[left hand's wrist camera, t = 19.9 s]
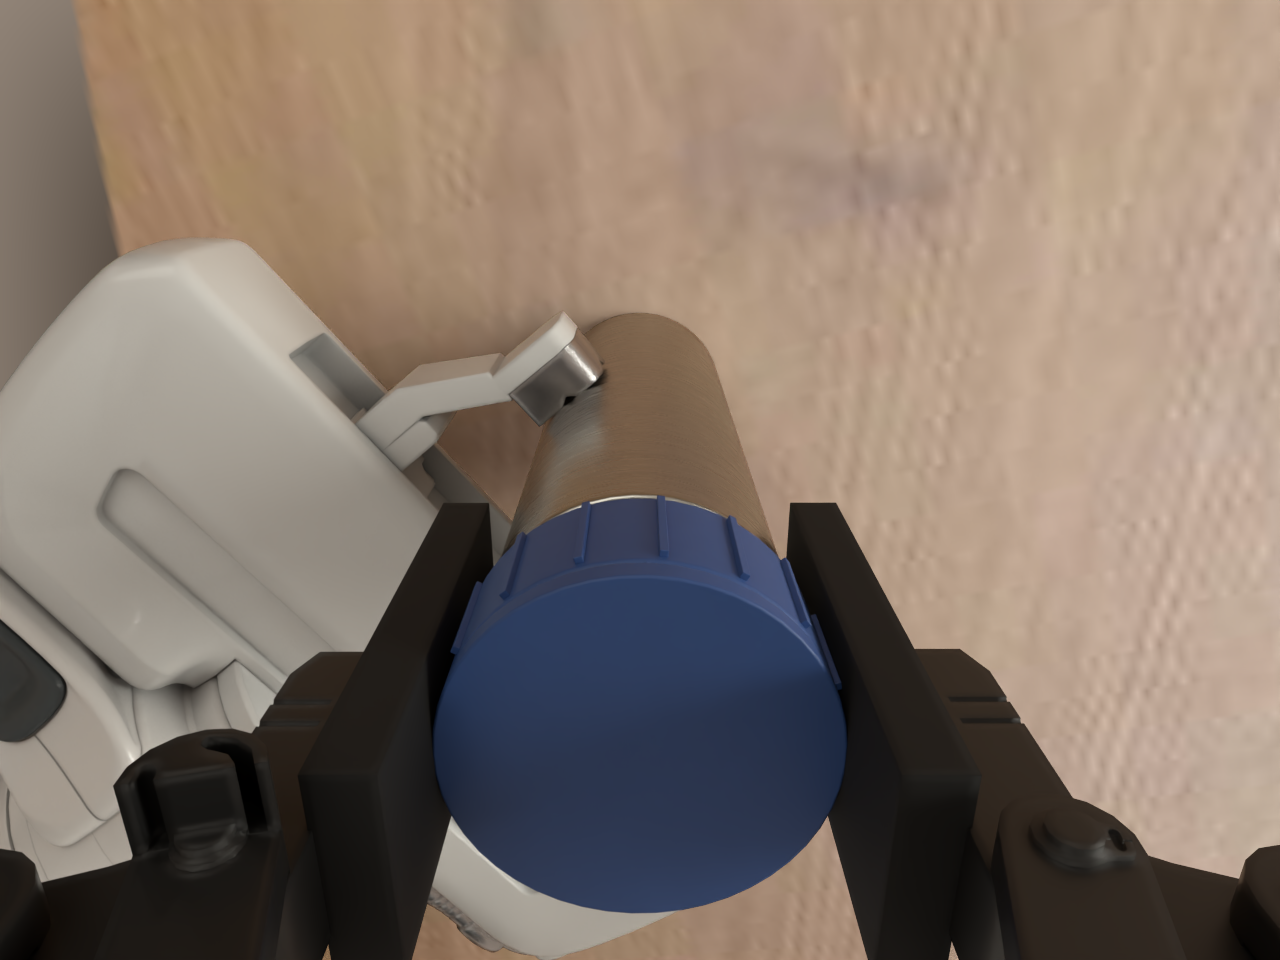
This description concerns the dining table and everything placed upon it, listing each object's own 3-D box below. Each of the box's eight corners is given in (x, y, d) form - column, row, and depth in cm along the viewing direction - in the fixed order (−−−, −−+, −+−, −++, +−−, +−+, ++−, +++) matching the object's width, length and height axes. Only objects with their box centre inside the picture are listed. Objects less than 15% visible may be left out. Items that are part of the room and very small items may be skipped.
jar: (736, 331, 25) (872, 602, 10) (697, 479, 26) (767, 889, 12) (577, 296, 24) (485, 525, 10) (547, 448, 26) (433, 833, 12)
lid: (429, 748, 13) (389, 866, 11) (513, 447, 11) (484, 518, 9) (744, 826, 14) (763, 953, 11) (871, 552, 12) (921, 642, 10)
